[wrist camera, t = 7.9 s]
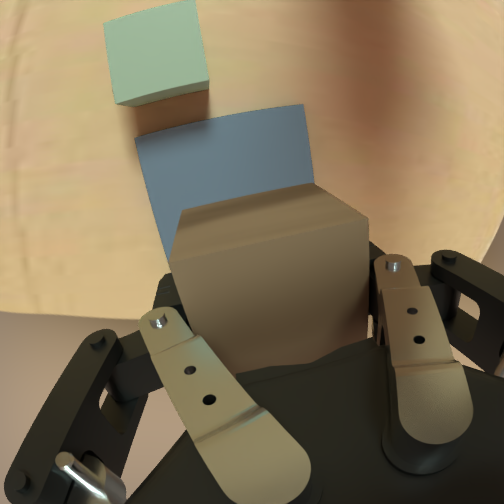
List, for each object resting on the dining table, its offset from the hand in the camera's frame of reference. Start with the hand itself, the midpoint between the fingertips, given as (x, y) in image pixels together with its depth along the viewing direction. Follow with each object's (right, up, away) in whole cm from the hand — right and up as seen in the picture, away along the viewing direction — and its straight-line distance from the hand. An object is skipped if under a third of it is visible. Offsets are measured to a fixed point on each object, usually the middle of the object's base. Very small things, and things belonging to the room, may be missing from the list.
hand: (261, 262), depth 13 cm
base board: (-2, +5, +10) cm, 11 cm away
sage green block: (-7, +14, +6) cm, 16 cm away
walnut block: (0, 0, +1) cm, 1 cm away
